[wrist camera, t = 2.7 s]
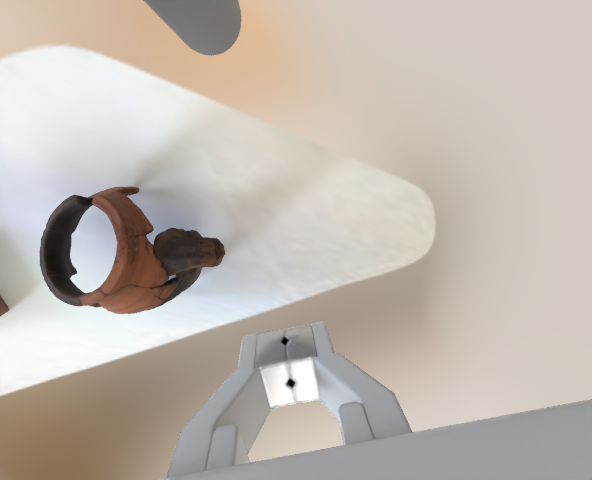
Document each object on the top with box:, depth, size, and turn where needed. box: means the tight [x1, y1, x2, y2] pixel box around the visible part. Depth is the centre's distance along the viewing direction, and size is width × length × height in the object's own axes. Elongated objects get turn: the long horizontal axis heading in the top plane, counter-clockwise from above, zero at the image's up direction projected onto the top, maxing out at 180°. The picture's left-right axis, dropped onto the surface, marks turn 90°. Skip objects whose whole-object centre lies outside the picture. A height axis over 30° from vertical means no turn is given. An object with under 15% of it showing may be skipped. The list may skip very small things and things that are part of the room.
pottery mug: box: [40, 187, 225, 314], centre depth 21 cm, size 12×10×8 cm
